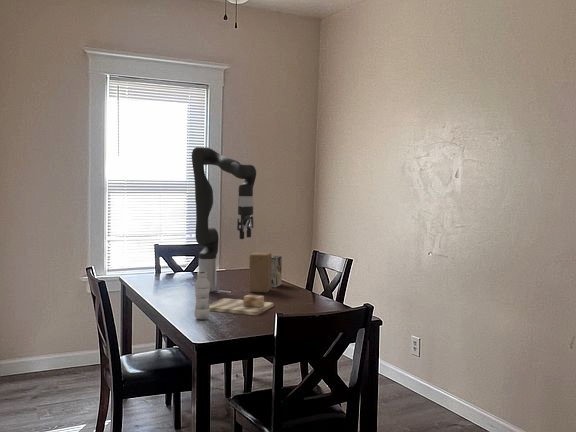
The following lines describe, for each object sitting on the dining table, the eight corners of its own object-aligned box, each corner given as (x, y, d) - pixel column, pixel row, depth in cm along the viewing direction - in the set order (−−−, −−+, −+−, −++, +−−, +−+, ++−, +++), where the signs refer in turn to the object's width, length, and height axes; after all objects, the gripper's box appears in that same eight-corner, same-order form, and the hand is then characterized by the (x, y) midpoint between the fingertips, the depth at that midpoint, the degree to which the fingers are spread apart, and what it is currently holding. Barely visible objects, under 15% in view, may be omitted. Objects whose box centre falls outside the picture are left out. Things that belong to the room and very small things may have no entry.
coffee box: (270, 283, 329) (271, 255, 328) (281, 284, 327) (282, 256, 326) (265, 286, 320) (265, 257, 319) (276, 287, 318) (276, 258, 317)
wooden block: (267, 293, 303) (267, 255, 301) (248, 292, 305) (248, 254, 303) (271, 289, 313) (271, 252, 311) (253, 288, 315) (253, 251, 313)
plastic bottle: (194, 317, 251) (194, 271, 249) (210, 317, 251) (210, 271, 250) (193, 321, 244) (193, 274, 243) (209, 321, 245) (210, 274, 243)
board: (204, 310, 264) (204, 306, 264) (223, 301, 283) (223, 298, 283) (257, 315, 255) (257, 312, 255) (273, 305, 274) (273, 302, 274)
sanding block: (243, 306, 266) (243, 296, 265) (247, 304, 270) (248, 294, 270) (259, 308, 263) (259, 298, 263) (263, 305, 268) (264, 296, 267)
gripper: (244, 204, 294) (244, 236, 296) (232, 205, 281) (232, 239, 282) (258, 204, 292) (257, 237, 293) (246, 206, 279) (246, 240, 280)
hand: (245, 238), depth 288 cm, fingers open, 8 cm apart
